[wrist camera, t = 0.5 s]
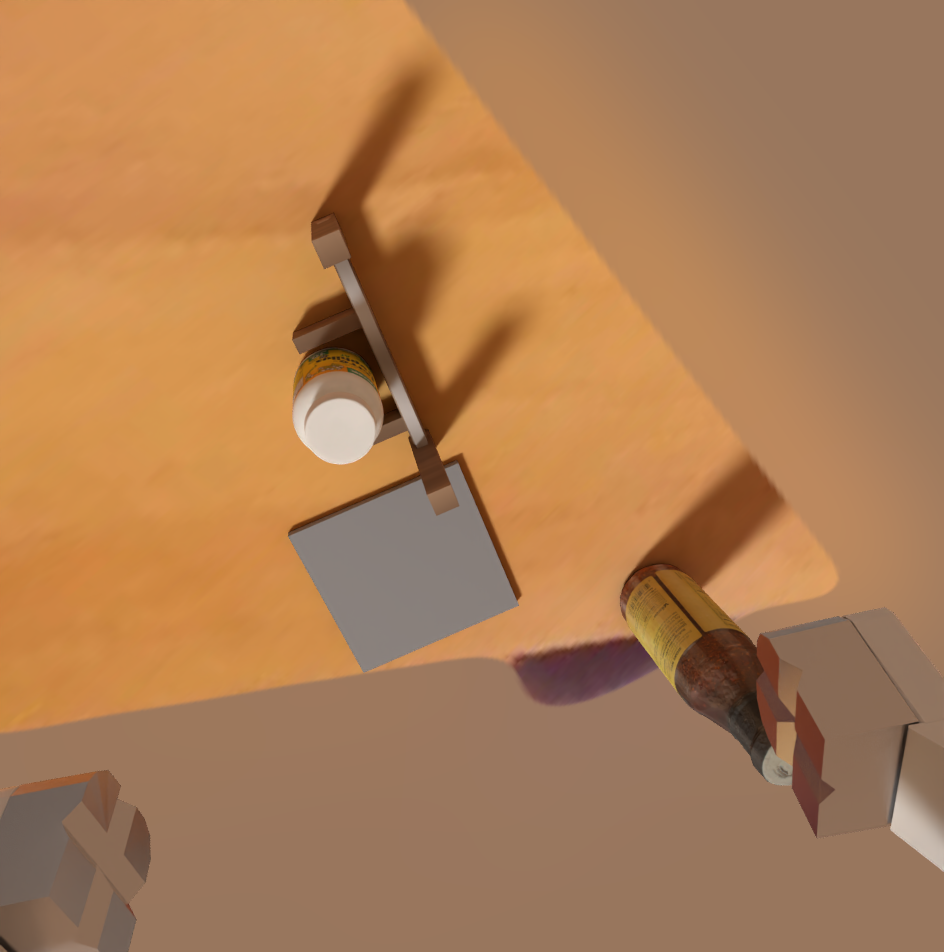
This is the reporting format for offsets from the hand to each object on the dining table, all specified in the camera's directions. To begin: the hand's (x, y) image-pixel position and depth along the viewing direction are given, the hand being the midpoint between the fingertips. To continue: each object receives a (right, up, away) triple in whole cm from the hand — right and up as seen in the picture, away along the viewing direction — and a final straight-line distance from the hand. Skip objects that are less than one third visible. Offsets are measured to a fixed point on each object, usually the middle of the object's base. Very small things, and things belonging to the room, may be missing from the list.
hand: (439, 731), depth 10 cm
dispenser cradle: (-8, +11, +44) cm, 46 cm away
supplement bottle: (-9, +9, +45) cm, 46 cm away
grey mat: (-4, -4, +51) cm, 51 cm away
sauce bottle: (+15, -6, +56) cm, 58 cm away
